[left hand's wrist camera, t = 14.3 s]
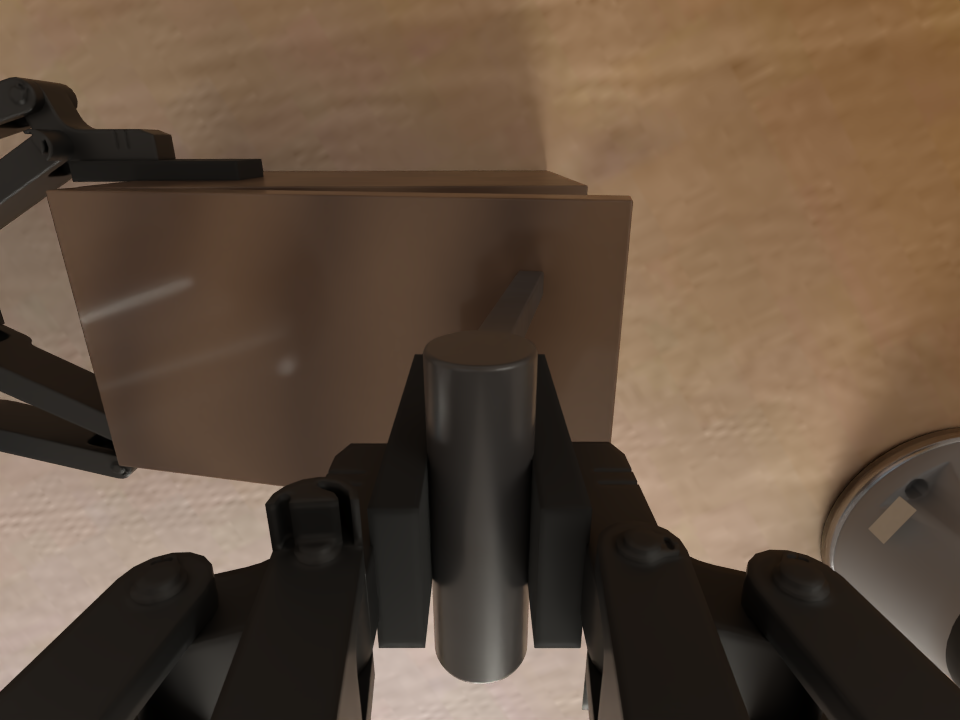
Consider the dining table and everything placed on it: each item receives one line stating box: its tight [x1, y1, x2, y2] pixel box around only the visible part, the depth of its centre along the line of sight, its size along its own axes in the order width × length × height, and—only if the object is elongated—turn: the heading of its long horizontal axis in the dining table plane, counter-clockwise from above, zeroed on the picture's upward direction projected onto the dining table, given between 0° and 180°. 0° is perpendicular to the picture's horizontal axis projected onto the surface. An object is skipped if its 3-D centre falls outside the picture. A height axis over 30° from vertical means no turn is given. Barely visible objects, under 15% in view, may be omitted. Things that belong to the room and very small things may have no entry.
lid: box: [46, 187, 633, 684], centre depth 15 cm, size 18×10×9 cm, turn 90°
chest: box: [82, 171, 588, 195], centre depth 26 cm, size 17×10×11 cm, turn 90°
